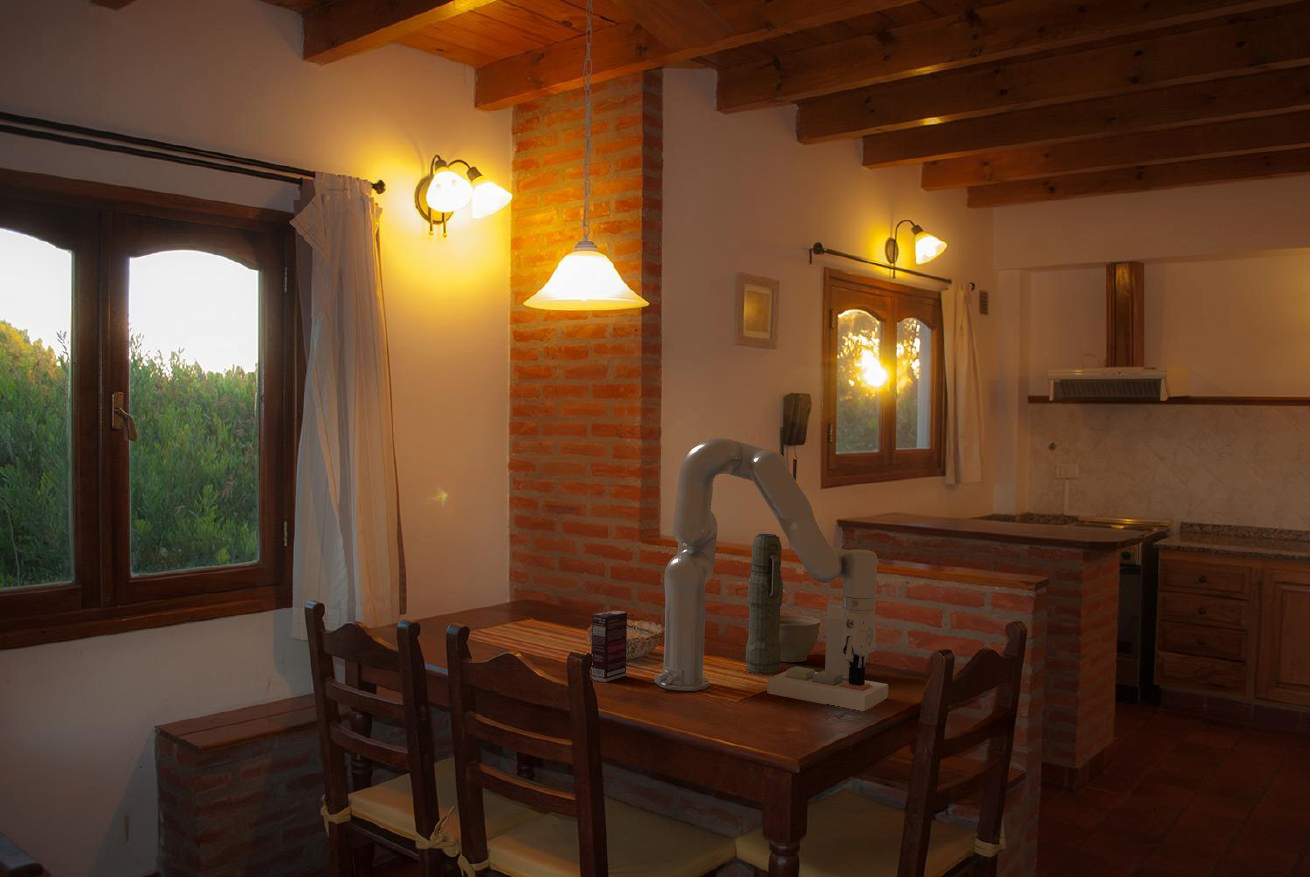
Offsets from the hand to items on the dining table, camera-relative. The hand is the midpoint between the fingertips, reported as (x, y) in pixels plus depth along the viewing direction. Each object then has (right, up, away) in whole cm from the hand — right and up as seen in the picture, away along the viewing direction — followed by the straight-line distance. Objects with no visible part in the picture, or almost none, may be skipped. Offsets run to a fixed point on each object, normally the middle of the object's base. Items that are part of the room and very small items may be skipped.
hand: (856, 684), depth 230 cm
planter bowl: (-10, -4, +43) cm, 44 cm away
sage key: (-12, -1, +8) cm, 14 cm away
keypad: (-6, -4, +4) cm, 8 cm away
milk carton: (+1, -4, +26) cm, 26 cm away
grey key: (-6, -1, +4) cm, 7 cm away
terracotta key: (0, -3, 0) cm, 2 cm away
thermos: (-19, -4, +28) cm, 33 cm away
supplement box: (-58, -2, +15) cm, 59 cm away
